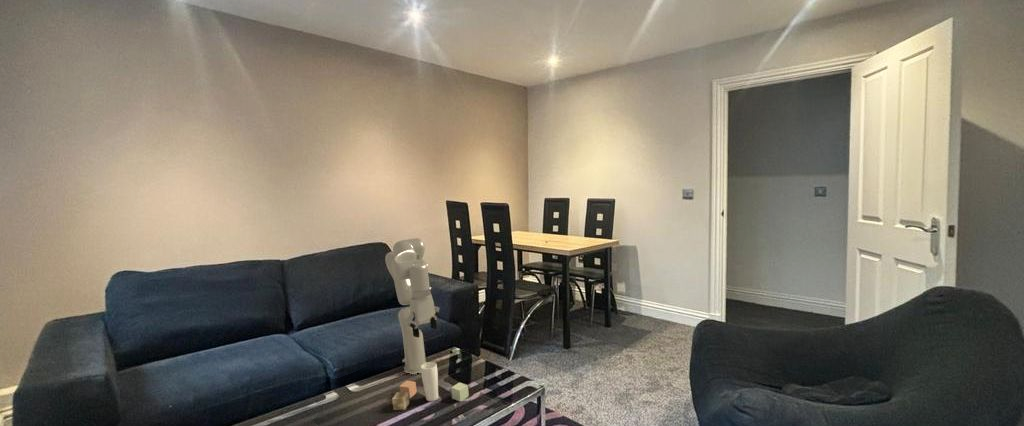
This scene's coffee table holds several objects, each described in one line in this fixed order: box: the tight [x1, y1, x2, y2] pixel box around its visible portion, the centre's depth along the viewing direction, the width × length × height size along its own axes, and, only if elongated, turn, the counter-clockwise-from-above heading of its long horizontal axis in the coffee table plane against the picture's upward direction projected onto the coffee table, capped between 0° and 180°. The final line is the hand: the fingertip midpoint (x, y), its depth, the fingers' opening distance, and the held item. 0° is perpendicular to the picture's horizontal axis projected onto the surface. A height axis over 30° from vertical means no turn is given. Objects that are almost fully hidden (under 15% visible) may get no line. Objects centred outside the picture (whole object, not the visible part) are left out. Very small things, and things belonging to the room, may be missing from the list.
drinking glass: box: [420, 361, 439, 402], centre depth 193 cm, size 7×7×15 cm
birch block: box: [391, 391, 410, 411], centre depth 190 cm, size 5×5×5 cm
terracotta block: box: [399, 380, 418, 399], centre depth 199 cm, size 5×5×5 cm
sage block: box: [450, 382, 470, 402], centre depth 193 cm, size 5×5×5 cm
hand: (425, 332), depth 190 cm, fingers open, 9 cm apart
